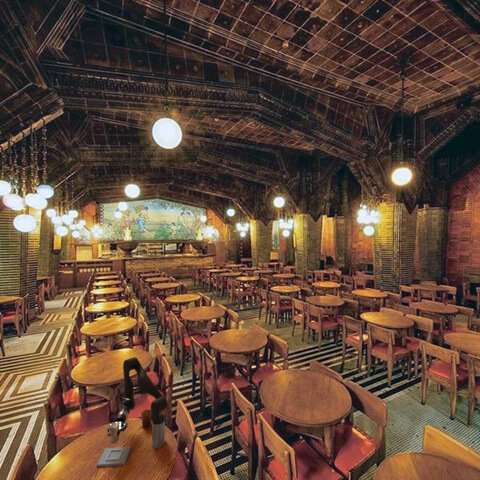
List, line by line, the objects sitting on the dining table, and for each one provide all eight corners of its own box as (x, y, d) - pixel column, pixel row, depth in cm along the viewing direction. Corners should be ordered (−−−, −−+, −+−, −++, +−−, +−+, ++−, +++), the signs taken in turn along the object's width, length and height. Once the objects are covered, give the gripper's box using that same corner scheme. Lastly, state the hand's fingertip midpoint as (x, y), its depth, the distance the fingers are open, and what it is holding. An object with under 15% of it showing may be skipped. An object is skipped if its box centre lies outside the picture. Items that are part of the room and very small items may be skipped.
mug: (142, 430, 216) (142, 417, 216) (140, 423, 223) (140, 411, 223) (157, 424, 223) (157, 412, 222) (154, 418, 230) (154, 406, 230)
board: (130, 448, 197) (130, 445, 197) (124, 464, 183) (124, 461, 183) (105, 450, 196) (105, 447, 196) (96, 466, 182) (96, 463, 182)
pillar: (119, 437, 192) (119, 422, 192) (117, 443, 187) (117, 427, 187) (112, 438, 192) (112, 422, 191) (109, 443, 187) (109, 427, 186)
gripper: (111, 414, 203) (102, 430, 186) (131, 412, 204) (123, 428, 187) (111, 423, 203) (102, 441, 186) (131, 422, 204) (123, 439, 187)
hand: (113, 434), depth 187 cm, fingers closed on pillar, 5 cm apart
